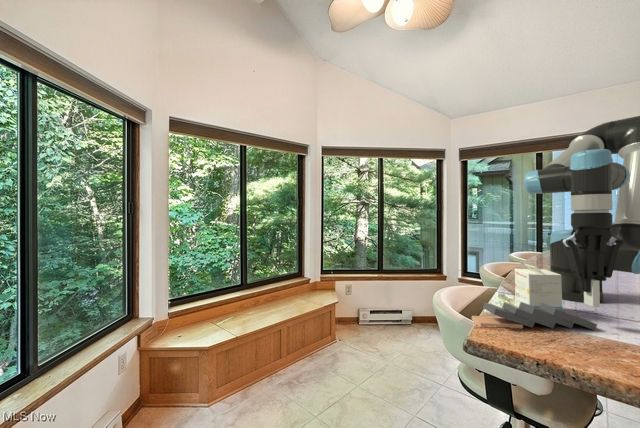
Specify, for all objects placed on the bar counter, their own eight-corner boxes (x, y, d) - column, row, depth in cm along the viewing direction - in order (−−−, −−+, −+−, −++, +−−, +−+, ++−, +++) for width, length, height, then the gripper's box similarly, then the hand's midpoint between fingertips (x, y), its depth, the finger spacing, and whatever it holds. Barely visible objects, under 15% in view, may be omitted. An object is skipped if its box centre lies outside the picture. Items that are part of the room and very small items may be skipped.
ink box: (563, 317, 76) (563, 268, 76) (529, 315, 78) (528, 267, 78) (545, 306, 85) (544, 263, 85) (514, 305, 86) (514, 262, 86)
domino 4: (557, 315, 73) (520, 301, 74) (573, 322, 68) (534, 308, 69) (555, 320, 73) (518, 307, 74) (571, 328, 68) (532, 314, 69)
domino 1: (511, 317, 74) (471, 315, 75) (522, 324, 69) (480, 323, 70) (511, 323, 74) (471, 321, 75) (522, 331, 69) (480, 329, 70)
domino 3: (540, 315, 74) (504, 301, 74) (555, 322, 69) (516, 308, 69) (538, 320, 74) (502, 307, 74) (553, 328, 69) (514, 314, 69)
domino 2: (521, 314, 74) (484, 301, 74) (534, 321, 69) (495, 308, 69) (519, 320, 74) (482, 307, 74) (532, 327, 69) (493, 314, 69)
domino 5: (580, 316, 72) (541, 302, 73) (597, 324, 67) (555, 309, 68) (577, 322, 72) (539, 308, 73) (594, 330, 67) (553, 315, 68)
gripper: (605, 211, 73) (606, 300, 73) (552, 212, 75) (553, 299, 75) (634, 211, 66) (635, 310, 66) (574, 212, 67) (575, 309, 67)
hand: (591, 304), depth 70 cm, fingers closed
